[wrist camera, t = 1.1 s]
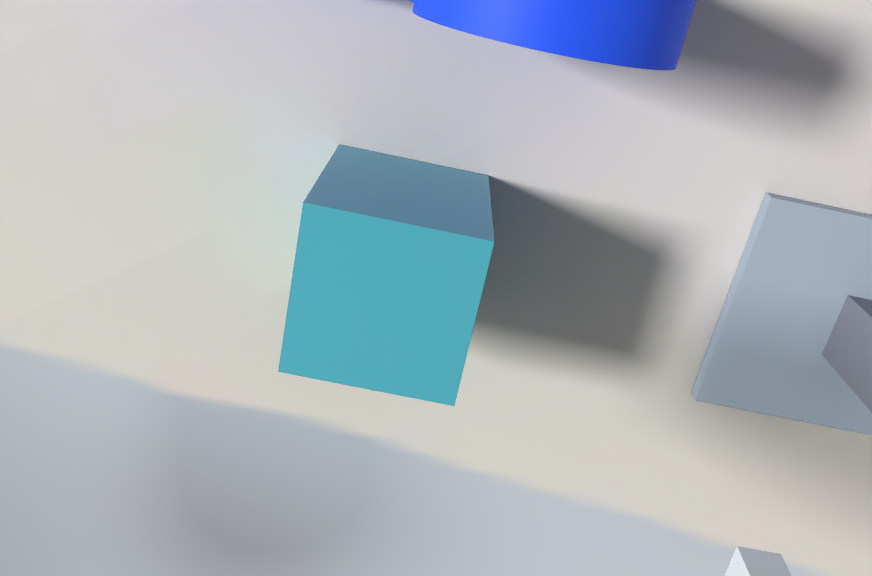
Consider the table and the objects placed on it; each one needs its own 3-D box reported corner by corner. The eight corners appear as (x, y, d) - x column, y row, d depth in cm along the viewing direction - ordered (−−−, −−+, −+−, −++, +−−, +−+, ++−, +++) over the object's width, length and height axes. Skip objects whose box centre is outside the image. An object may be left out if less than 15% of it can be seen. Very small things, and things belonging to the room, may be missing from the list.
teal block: (339, 144, 28) (303, 202, 22) (488, 175, 29) (494, 241, 22) (317, 282, 30) (278, 371, 24) (456, 310, 31) (454, 406, 24)
